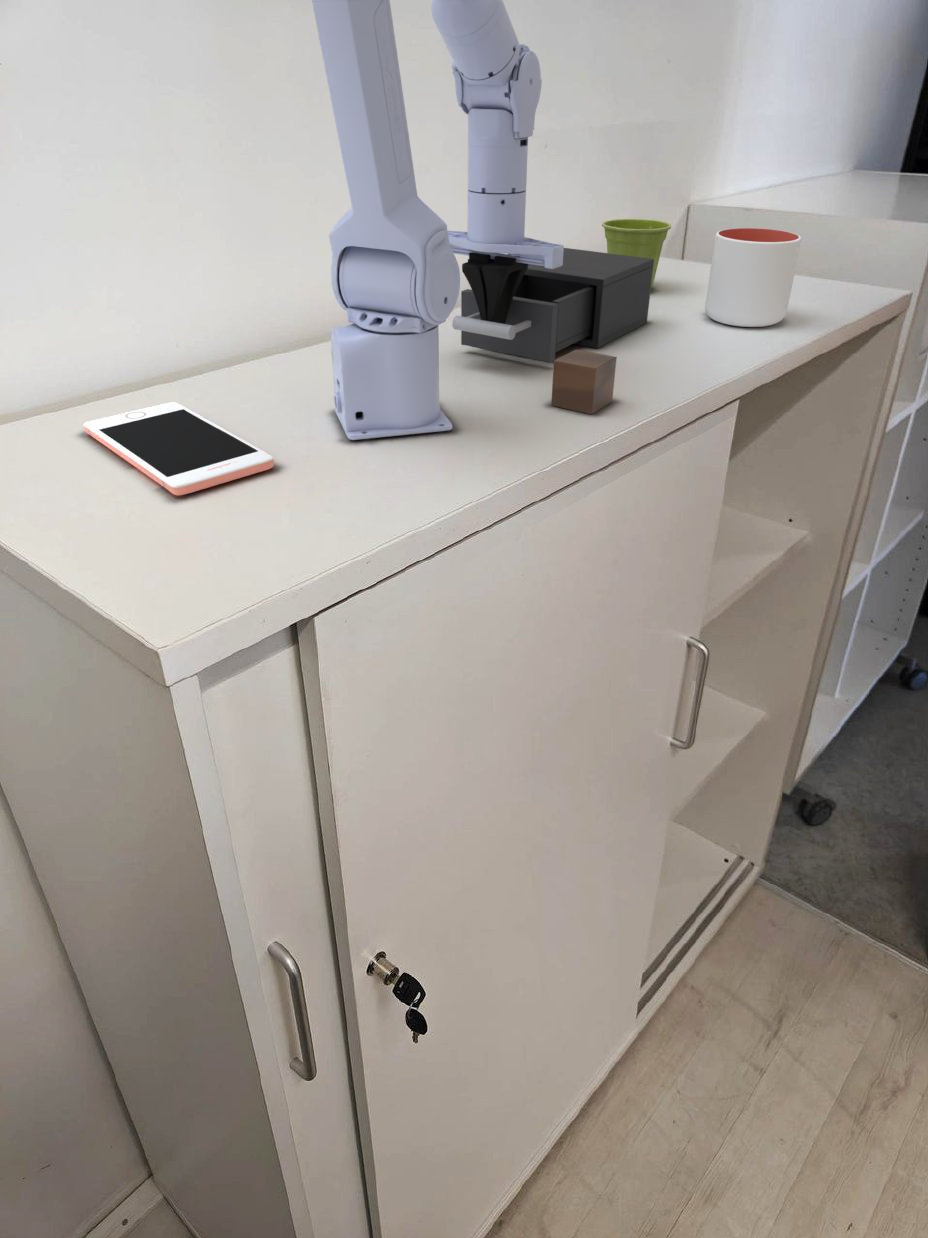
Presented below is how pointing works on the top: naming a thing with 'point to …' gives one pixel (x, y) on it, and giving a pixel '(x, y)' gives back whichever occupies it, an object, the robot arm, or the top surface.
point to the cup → (751, 276)
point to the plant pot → (636, 238)
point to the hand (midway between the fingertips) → (493, 331)
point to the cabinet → (607, 289)
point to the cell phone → (178, 447)
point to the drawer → (532, 319)
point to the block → (583, 381)
